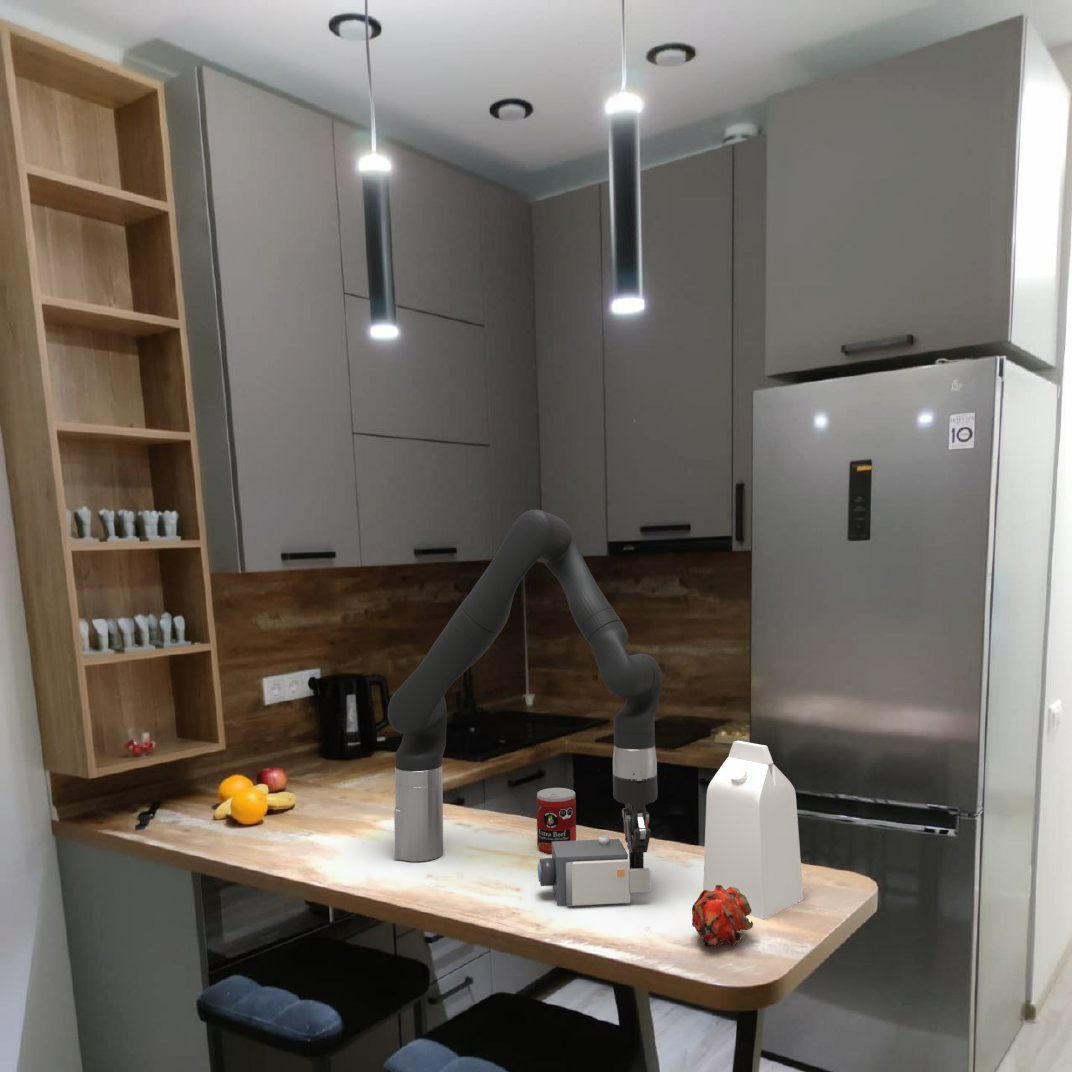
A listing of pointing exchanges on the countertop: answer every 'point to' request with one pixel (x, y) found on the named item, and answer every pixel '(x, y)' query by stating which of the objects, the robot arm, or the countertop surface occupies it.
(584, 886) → the side door
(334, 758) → the countertop surface
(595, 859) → the camera body
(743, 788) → the milk
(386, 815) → the countertop surface
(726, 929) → the dragon fruit
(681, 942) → the countertop surface
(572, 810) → the canned food
